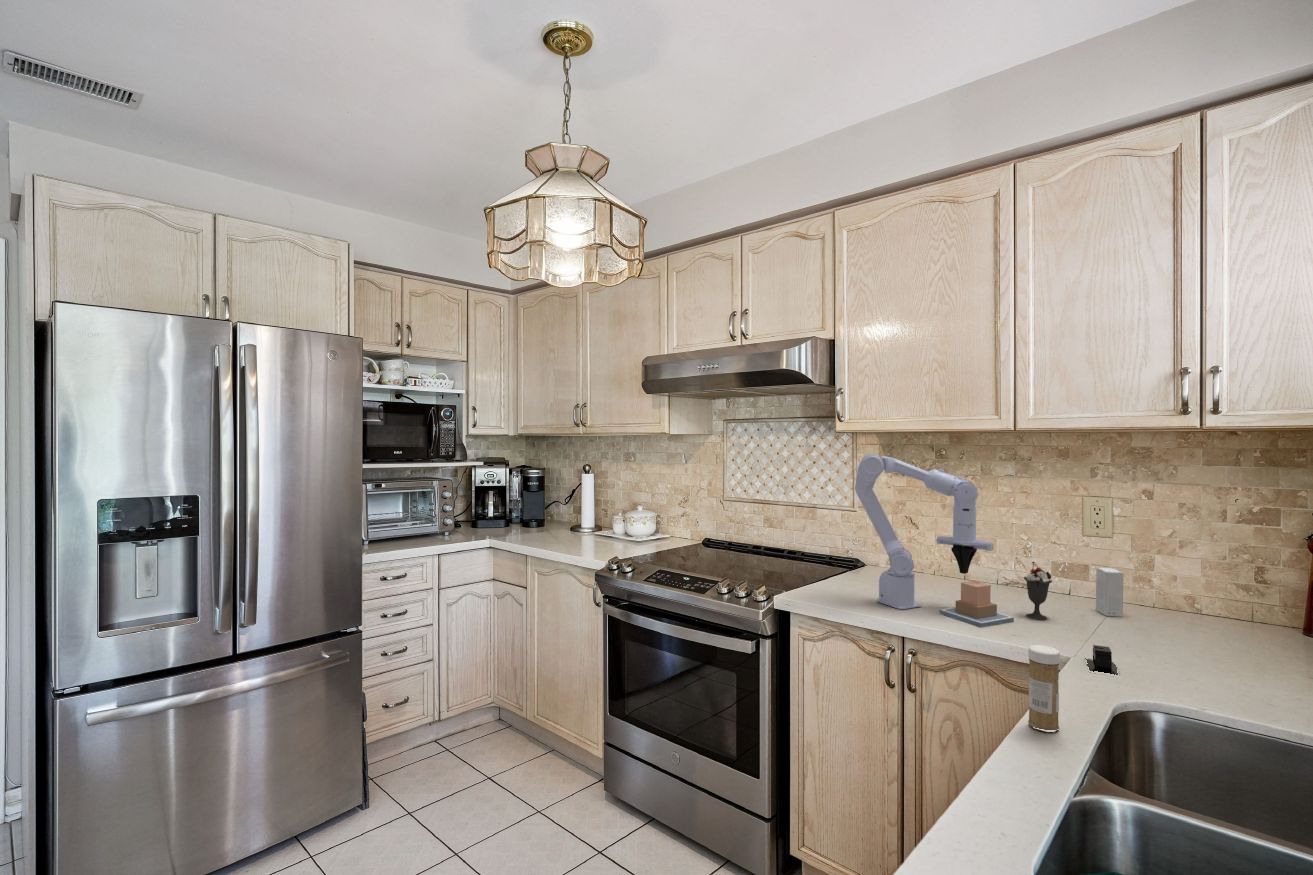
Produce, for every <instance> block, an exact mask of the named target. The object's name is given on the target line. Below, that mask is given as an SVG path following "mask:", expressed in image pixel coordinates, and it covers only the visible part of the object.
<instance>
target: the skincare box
mask: <svg viewBox="0 0 1313 875" xmlns="http://www.w3.org/2000/svg"><path fill="white" fill-rule="evenodd" d="M1095 569H1096V576H1095V577H1096V579H1095V581H1096V582H1095V584H1096V585H1095V586H1096V587H1095V611H1097V612H1099V613H1101V614H1102V615H1104V616H1106V617H1119V618H1122V617H1123V616H1124V614H1123V612H1124V572H1122V571H1120V570H1117V569H1115V568H1113V567H1096V568H1095Z"/></svg>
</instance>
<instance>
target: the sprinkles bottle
mask: <svg viewBox="0 0 1313 875" xmlns="http://www.w3.org/2000/svg"><path fill="white" fill-rule="evenodd" d="M1027 653H1028V654H1027V656H1028V661H1029V671H1028V706H1029V707H1028V721H1027V723H1029V724H1028V726H1030V725H1031V726H1032V727H1035V728H1039V729H1044V730H1057V729H1059V730H1060V726H1059V710H1060V693H1059V688H1060V687H1059V685H1060V684H1059V679H1060V678H1059V676H1060V675H1059V666H1060V662H1061V653H1060V651H1059V650H1058V649H1056V648H1054V647H1051V646H1048V645H1042V644H1041V645H1040V644H1034V645H1033V644H1032V645H1030V646H1029V647H1028V652H1027ZM1031 726H1030V727H1031ZM1032 727H1031V728H1032Z"/></svg>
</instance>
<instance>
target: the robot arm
mask: <svg viewBox="0 0 1313 875" xmlns="http://www.w3.org/2000/svg"><path fill="white" fill-rule="evenodd" d="M883 471H884V473H885V474H891V473H896V474H900V475H903V476H906V477H909V478H912V479H915V480H918V481H920V482H923V483H924V485H925V488H926V489H929V490H932V491H934V492H937V493H940V494H942V495H945V496H947V497H952V496H953V497H954V498H953V507H952V511H953V512H952V516H953V517H952V536H942V535H939V536H936V544H937V545H941V544H942V545H948V546H952V547H950V548H951V552H952V553H953V556H954V558H955V561H956V562H957V566H958V570H959V573H960V574H961V575H962V574H963V575H966V574H968V573H969V569H970V566H971V562H972V560H973V558H974V557H975V554H976V553H977V552H978V550H983V551H989V552H991V551H994V543H993V542H988V541H985V540H977V508H976V504H977V502H976V501H977V499H978V496H979V491H978V487H977V486H976V485H975V484H974V483H973V482H971V481H968V480H967V479H962V476H960V475H957V476H954V475H952V474H949V473H947V472H945V470H944V469H941V468H939V469H936V468H933V469H931V470H929V471H928V470H924V469H922V468H919V467H917V466H914V465H912V464H909V463H907V462H904V461H902V460H899V459H897V458H894V457H891V456H886V455H879V454H877V453H874V452H873V453H872V452H871V453H868V454H867V453H866V454H865V455H864V456H863V457H862V458H861V461H860V462H859V464H858V466H857V472H856V478H855V485H854V490H855V493H856V495H857V497H858V499H859V501H860V503H861V505H862V507H863V508H864V510H865V512H866V514H867V517H868V518H869V520H870V522H871V523H872V526H873V528H874V530H875V532H876V533H877V535H878V537H879V540H880V541H881V543H882V545H883V547H884V550H885V551H886V555H887V557H888V561H889V567H890V568H888V569H887V570H885V571H882V573H881V574H880V576H879V578H878V579H879V580H878V599H876V602H878V603H879V604H880V603H881V604H883V605H887V606H889V607H892V608H894V609H898V610H906V609H907V610H908V609H913V608H914V609H915V608H920V607H922V604H920V603H917V602H915V577H916V576H915V575H916V574H915V572H914V571H913V570H914V567H915V564H914V563H915V562H914V560H913V557H912V553H910V551H909V550H908V549H906V548H905V547H904V546H903V544H902V541H901V540H900V539H899V537H898V535H897V534H896V531H895V530H894V528H893V525H892V524H891V522H890V520H889V518H888V515H887V514H886V513H885V510H884V508H883V507H882V504H881V502H880V500H879V499H878V497H877V495H876V493H875V491H874V490H873V489H874V486H875V484H876V480H877V479H878V478H879V477H880V475H881V474H882V473H883Z"/></svg>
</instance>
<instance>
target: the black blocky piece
mask: <svg viewBox="0 0 1313 875" xmlns="http://www.w3.org/2000/svg"><path fill="white" fill-rule="evenodd" d="M1112 654H1113V653H1112V650H1111V648H1110V646H1106V645H1105V646H1104V645H1096V644H1092V658H1088V659H1086V657H1084V658H1085V659H1086V660H1087V663H1088V664H1086V663H1085V664H1086V667H1087V666H1088V667H1089V670H1090V671H1093V672H1094V671H1098V672H1104V673H1110V674H1114V675H1115V674H1116V675H1118V673H1117V668H1118V666H1117V667H1116V665H1117V664H1116V665H1115V664H1114V663H1113V662H1114V661H1112V660H1113V658H1112ZM1085 659H1084V660H1085ZM1092 659H1093V660H1092Z"/></svg>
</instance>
